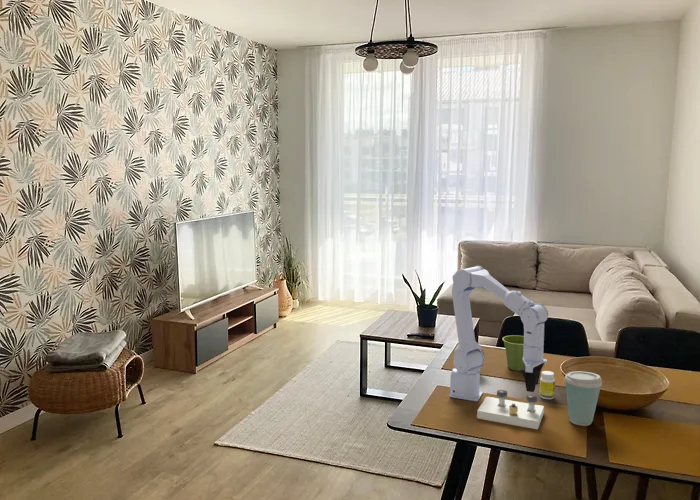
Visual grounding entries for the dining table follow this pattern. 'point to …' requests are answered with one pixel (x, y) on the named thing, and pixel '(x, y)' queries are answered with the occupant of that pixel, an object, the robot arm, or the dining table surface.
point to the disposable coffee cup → (582, 396)
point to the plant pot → (514, 351)
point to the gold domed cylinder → (513, 410)
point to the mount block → (501, 414)
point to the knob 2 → (531, 401)
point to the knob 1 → (502, 397)
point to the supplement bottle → (547, 385)
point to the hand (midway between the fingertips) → (532, 387)
